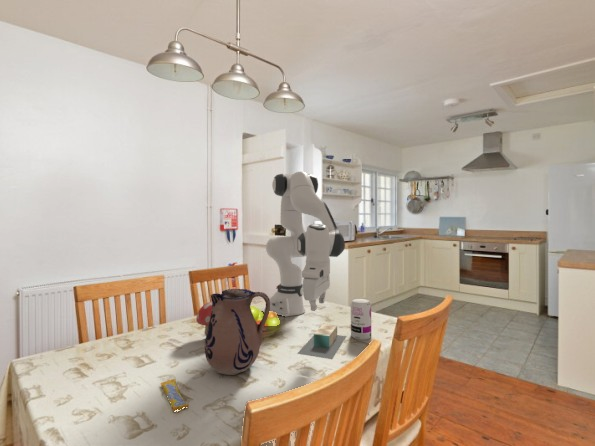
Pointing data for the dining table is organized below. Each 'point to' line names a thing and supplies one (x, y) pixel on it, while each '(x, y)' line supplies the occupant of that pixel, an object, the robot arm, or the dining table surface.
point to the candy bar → (173, 394)
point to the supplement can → (361, 319)
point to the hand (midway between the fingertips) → (317, 306)
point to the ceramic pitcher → (234, 331)
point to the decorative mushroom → (204, 315)
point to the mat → (322, 348)
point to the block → (325, 336)
